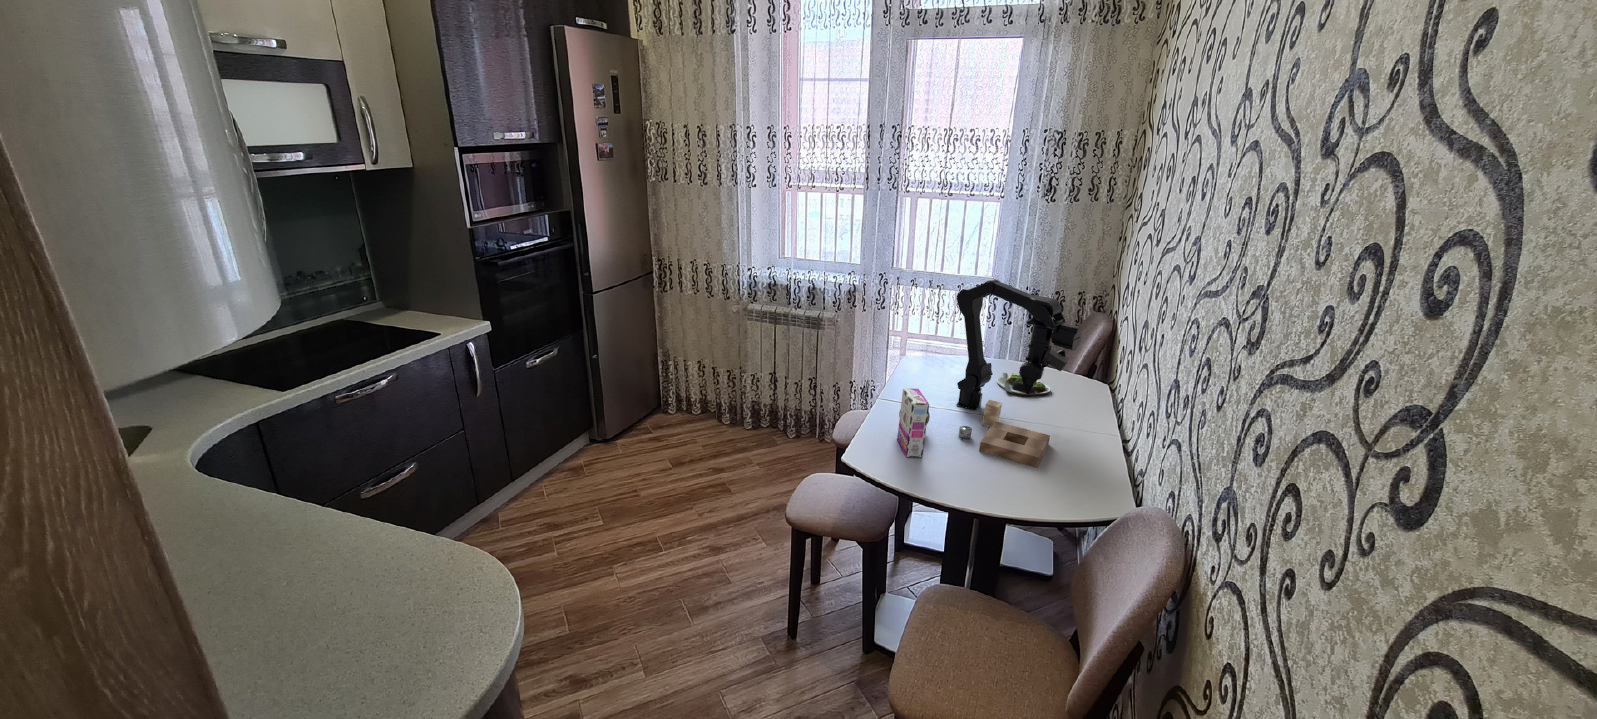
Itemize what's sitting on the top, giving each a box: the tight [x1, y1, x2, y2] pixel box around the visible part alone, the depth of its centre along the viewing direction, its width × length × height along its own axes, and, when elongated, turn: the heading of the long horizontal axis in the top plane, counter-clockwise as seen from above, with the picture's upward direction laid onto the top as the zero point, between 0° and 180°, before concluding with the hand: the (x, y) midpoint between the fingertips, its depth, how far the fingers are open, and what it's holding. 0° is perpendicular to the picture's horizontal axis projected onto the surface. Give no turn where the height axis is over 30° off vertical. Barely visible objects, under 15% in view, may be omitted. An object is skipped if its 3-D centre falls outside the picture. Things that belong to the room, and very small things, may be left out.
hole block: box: [978, 421, 1051, 468], centre depth 177 cm, size 16×16×3 cm
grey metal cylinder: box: [957, 425, 973, 441], centre depth 182 cm, size 4×4×3 cm
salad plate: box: [996, 372, 1052, 398], centre depth 222 cm, size 19×18×5 cm
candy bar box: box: [897, 388, 930, 459], centre depth 172 cm, size 11×5×16 cm, turn 5°
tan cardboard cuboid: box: [982, 399, 1003, 428], centre depth 191 cm, size 4×4×7 cm
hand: (1030, 388), depth 188 cm, fingers open, 9 cm apart
